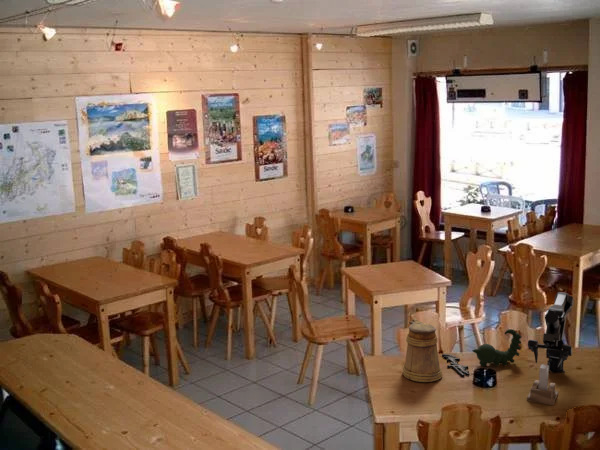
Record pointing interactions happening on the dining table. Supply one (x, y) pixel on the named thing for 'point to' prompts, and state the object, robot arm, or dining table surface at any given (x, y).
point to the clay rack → (542, 394)
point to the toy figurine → (499, 352)
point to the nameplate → (456, 365)
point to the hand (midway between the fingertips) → (546, 364)
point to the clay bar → (543, 377)
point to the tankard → (422, 353)
